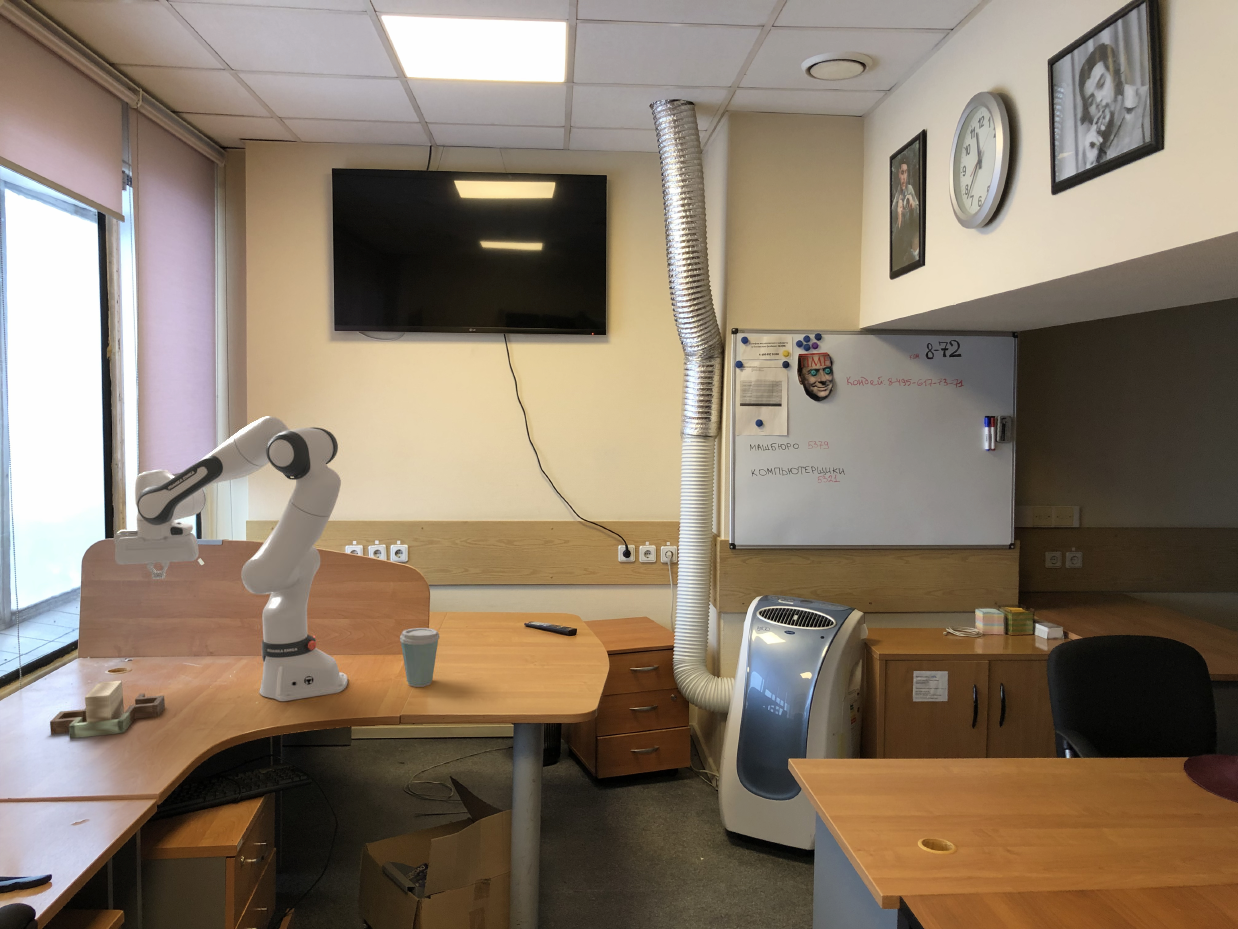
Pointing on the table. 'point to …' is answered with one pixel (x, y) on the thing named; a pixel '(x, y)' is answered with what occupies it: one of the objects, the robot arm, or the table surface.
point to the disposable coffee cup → (419, 655)
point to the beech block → (105, 702)
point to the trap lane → (80, 727)
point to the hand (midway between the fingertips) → (158, 578)
